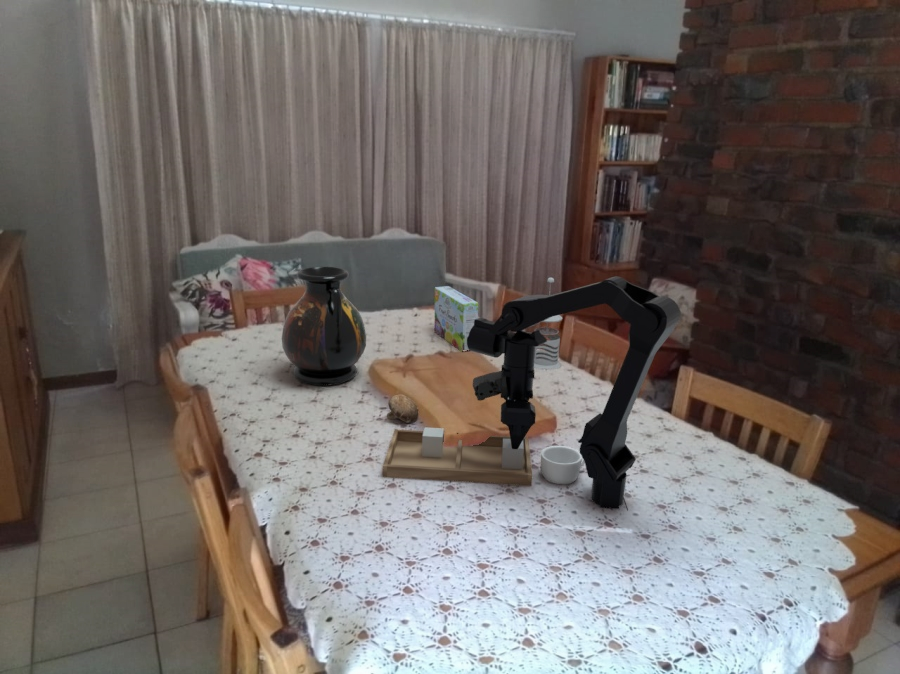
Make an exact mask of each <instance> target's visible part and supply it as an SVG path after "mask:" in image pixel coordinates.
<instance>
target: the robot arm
mask: <svg viewBox="0 0 900 674" xmlns="http://www.w3.org/2000/svg"><path fill="white" fill-rule="evenodd" d="M600 305H607V306H609V307H610V308H611V309H612V310H613V311H614V312H615V313H616V314H617V315H618V317H620V318H621V319H622V320H623V321H625V322H626V323H628V324H629V328H628V345H629V346H628V349H627V352H626V354H625V357H624V360H623V362H622V365H621V367H620V370H619V371H618V374H617V377H616V379H615V381H614V384H613V387H612V388H611V389H612V390H611V391H610V394H609V396H608V398H607V401H606V404H605V405H604V406H605V407H604V409H603V411H602V413H600V412H599V413H598V414H596V416H593V418H592V419H590V420H588V421H587V422H586V423H585V425H584V427H583V432H582V436H581V437H580V439H579V440H577V443H578V444H580V446H579V452H580V454H581V455H582V460H584V461H585V464H584V465H585V468H586V472H587V477H588V478H590V479H592V484H591V485H592V487H591V494H590V499H591V500H592V501H593V503H595V504H596V505H597V506H599V508H601V509H611V510H612V509H613V510H619V509H620V506H622V505H623V504H624V505H625V508H626V511H627V512H628V511H629V509H628V506H627V503H626V499H625V492H626V491H625V490H626V483H627V482H626V481H627V471H628V470H629V469H631V468H632V467H633V465H634V464H635V463H636V460H637V459H636V457H635V455H634V454H633V453H632V452H631V450H630V449H629V447H628V446H627V444H626V442H627V436H628V419H629V417H630V414H631V412H632V411H633V410H632V409H633V407H634V405H635V403H636V400H637V398H638V396H639V393H640V391H641V388H642V386H643V384H644V381H645V379H646V376H647V375H648V372H649V370H650V368H651V366H652V362H653V360H654V358H655V355H656V354H657V351H659V350H660V348H661V347H662V345H664V343H665V342H666V340H667V339H668V338H669V337H670V335H671V334H672V332H673V331H674V330H675V328H676V326H677V325H678V323H680V319H681V315H682V314H681V310H680V308H679V305H678V304H677V302H676V301H675V300H674V299H672V298H671V297H668V296H665V295H662V296H660V295H658V294H656V293H655V292H654V291H652V290H649V289H647V288H644V287H642V286H639V285H635V284H634V283H631V282H630V281H628V280H626V279H625V278H623V277H622V276H617V275H616V276H613V277H609V278H606V279H604V280H601V281H599V282H596V283H595V282H594V283H590V284H588V285H584V286H581V287H577V288H573V289H570V290H566V291H565V290H564V291H562V292H558V293H555V294H550V295H549V294H532V295H529V294H528V295H524V296H520V297H518V298H515V299H513V300H510V301H508V302H506V303H505V304H504V305H503V307H502V310H501V315H500V316H499V317H498V318H497V320H496V321H493V320H489V319H486V318H484V317H478V319H475V320H474V326H473V327H472V328H471V330H470V333H469V336H468V337H467V346H468V349H469V350H470V351H469V352H472V353H476V354H481V355H483V356H484V355H485V356H489V357H492V358H500V357H501V356H502V355H503V364H501V370H499V371H494V372H490V373H487V374H482V375H479V376H477V377H474V378H473V379H472V388H473V390H474V395H475V397H476V400H477V401H484V400H486V399H487V398H491V397H495V396H498V395H500V399H504V400H505V401H504V402H502V403H501V405H500V422H501V423H502V424H503V425H505V426H506V427H508V432H509V436H510V439H511V446H512V449H518V448H519V446H520V444H521V442H522V441H523V439H524V437H527V434H528V432H529V431H530V429H531V428H532V426H534V424H536V415H537V414H536V407H535V405H534V404H533V403H532V402H531V401H530V399H533V398H534V392H533V386H534V385H533V384H534V379H535V368H534V359H535V346H536V347H537V346H542V345H543V344H544V343H546V342H547V340H548V338H547V337H546V336H543V335H542V334H541V333H540V331H539V330H536V331H534V330H533V331H532V332H528V331H526V330H527V329H528V328H531V327H533V325H534V326H536V325H538V324H540V323H543V322H542V321H544V320H546V319H548V318H550V317H552V316H556V315H560V316H561V315H564V314H568V313H572V312H575V311H576V312H577V311H580V310H584V309H588V308H592V307H596V306H600ZM524 329H525V331H523V330H524Z"/></svg>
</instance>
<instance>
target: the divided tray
mask: <svg viewBox="0 0 900 674" xmlns="http://www.w3.org/2000/svg"><path fill="white" fill-rule="evenodd" d="M423 432H424V430H411V429H398V428H397V429H395V428H394V430H393V434H392V436H391V440H390V442H389V445H388V449H387V451H386V455H385V458H384V461H383V463H382V477H383V478H395V479H396V478H398V479H399V478H400V479H411V480H412V479H413V480H427V481H428V480H429V481H444V482H445V481H446V482H458V483H459V482H463V483H477V484H478V483H479V484H493V485H506V486H507V485H509V486H524V487H525V486H526V487H527V486H528V487H532V486H533V467H532V459H531V449H530V447H531V446H530V439H529V437H528V436H525V437H524V439H523V445H524V453H523V467H522V470H520V469H504V468H502V445H503V438H504V439H510V435H500V436H490V437H489V438H488V439H487V440H486V441H485V442H482V443H481V444H479V445H473V446H462V440H458V447H453V448H444V447H443V454H442V458H441V457H425V456H422V436H423Z"/></svg>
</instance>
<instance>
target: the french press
mask: <svg viewBox="0 0 900 674" xmlns="http://www.w3.org/2000/svg"><path fill="white" fill-rule="evenodd" d="M547 283H549V288H551V287H552V283H555V278H554V277H548V278H547ZM548 295H551V290H549V294H548ZM561 321H563V316H561V314H560V315H556V316H552V317H550V318H548V319H546V320H544V321H542V322H541V323H546V326H544V327H542V326H541V327H536V328H534V329H533V332H534V331H536V330H539V331H540V333H541V334H542V335H543V336H544V337H545V338H546V339H547V342H546V343H544V344H542V345H539V346H537V347H536V346H535V359H534V369H538V370H539V369H540V370H556V369H559V368H560V367H562V363H561V362H560V360H559V355H560V354H559V353H560V343H561V336H560V335H559V334H560V331H559V330H558V329H556V328H553V327H548V324H549V323H559V322H561ZM532 327H535V325H533V326H532ZM522 331H526V329H524V330H522ZM548 339H549V340H548Z"/></svg>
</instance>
